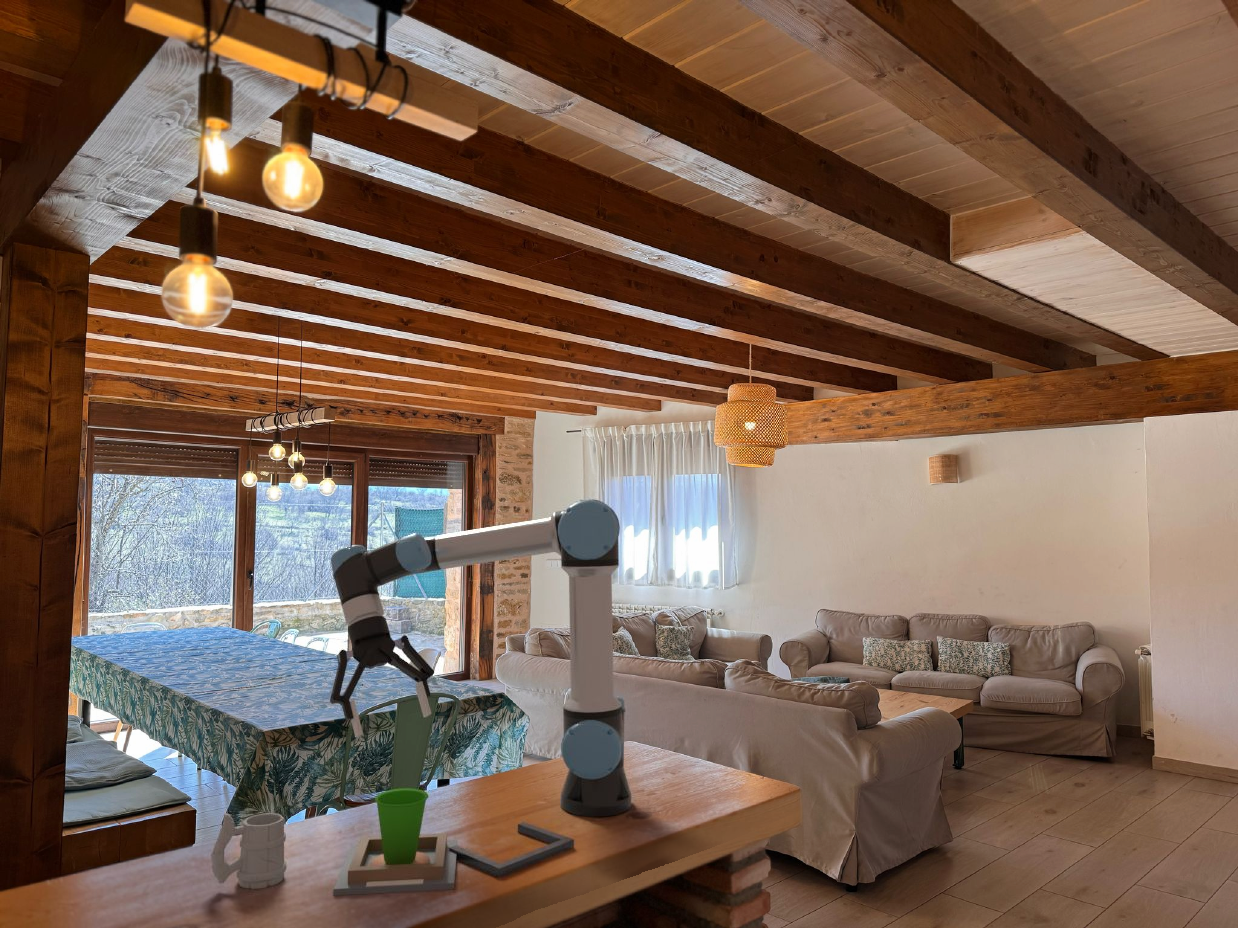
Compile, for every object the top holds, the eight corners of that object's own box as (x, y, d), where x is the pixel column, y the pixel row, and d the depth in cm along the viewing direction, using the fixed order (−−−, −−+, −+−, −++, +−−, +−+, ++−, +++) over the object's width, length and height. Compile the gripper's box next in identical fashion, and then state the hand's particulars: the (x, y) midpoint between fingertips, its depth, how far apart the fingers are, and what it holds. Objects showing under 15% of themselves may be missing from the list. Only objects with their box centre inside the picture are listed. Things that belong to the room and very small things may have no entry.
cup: (412, 874, 142) (414, 806, 143) (362, 868, 144) (365, 802, 145) (435, 853, 151) (436, 790, 152) (387, 849, 153) (389, 786, 154)
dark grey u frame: (573, 847, 158) (574, 839, 158) (499, 877, 144) (499, 868, 144) (523, 829, 167) (523, 821, 167) (448, 855, 153) (449, 847, 153)
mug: (293, 881, 142) (295, 807, 142) (217, 901, 134) (220, 822, 135) (277, 866, 147) (279, 795, 148) (203, 884, 140) (206, 809, 141)
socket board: (457, 845, 158) (457, 828, 158) (453, 889, 139) (454, 870, 140) (351, 850, 155) (351, 833, 155) (333, 895, 137) (333, 875, 137)
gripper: (419, 614, 180) (448, 712, 173) (298, 641, 166) (324, 748, 159) (430, 602, 175) (460, 702, 168) (306, 629, 160) (333, 739, 153)
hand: (394, 725), depth 163 cm, fingers open, 13 cm apart
